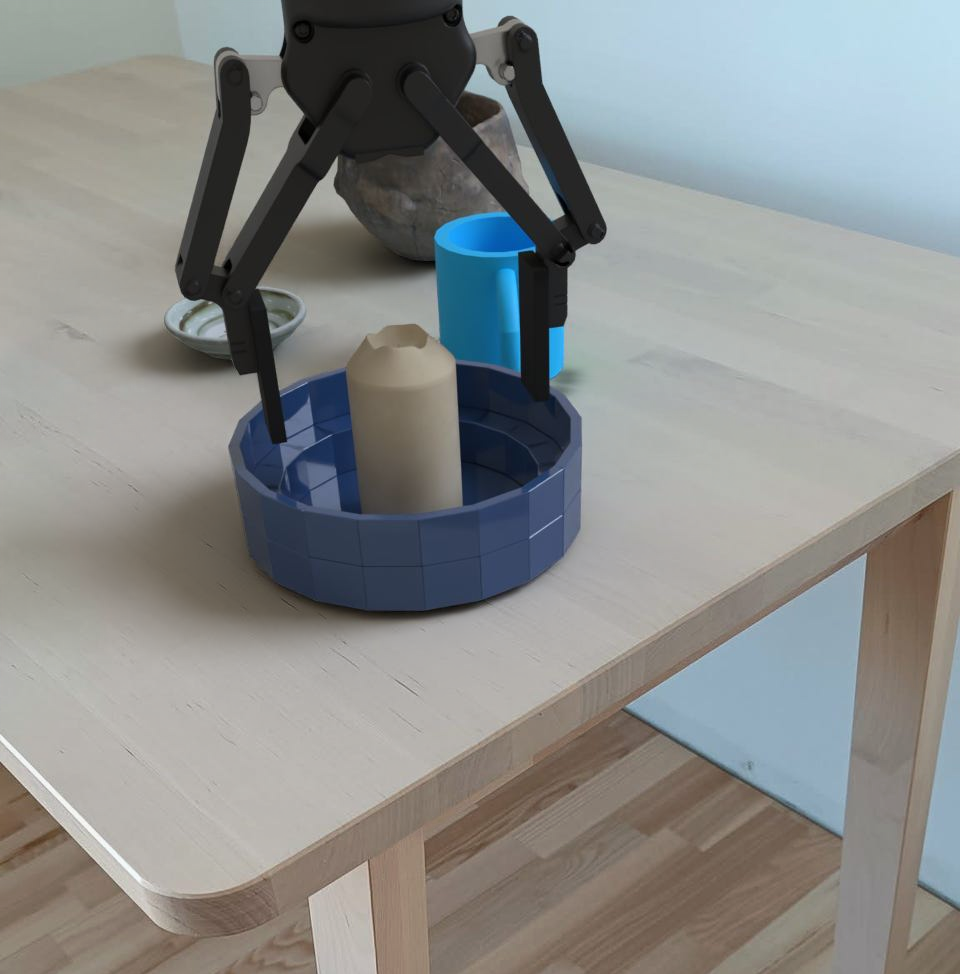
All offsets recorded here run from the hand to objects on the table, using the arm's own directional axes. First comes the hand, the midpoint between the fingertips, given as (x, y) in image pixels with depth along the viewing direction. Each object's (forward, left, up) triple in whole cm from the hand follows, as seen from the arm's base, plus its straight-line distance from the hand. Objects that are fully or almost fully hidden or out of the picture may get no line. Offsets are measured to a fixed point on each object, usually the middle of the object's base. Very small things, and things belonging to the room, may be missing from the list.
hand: (407, 411), depth 65 cm
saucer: (-28, -6, -7) cm, 30 cm away
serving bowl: (0, 0, -7) cm, 7 cm away
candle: (0, 0, -6) cm, 6 cm away
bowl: (-42, +11, -7) cm, 44 cm away
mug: (-17, +10, -7) cm, 21 cm away
